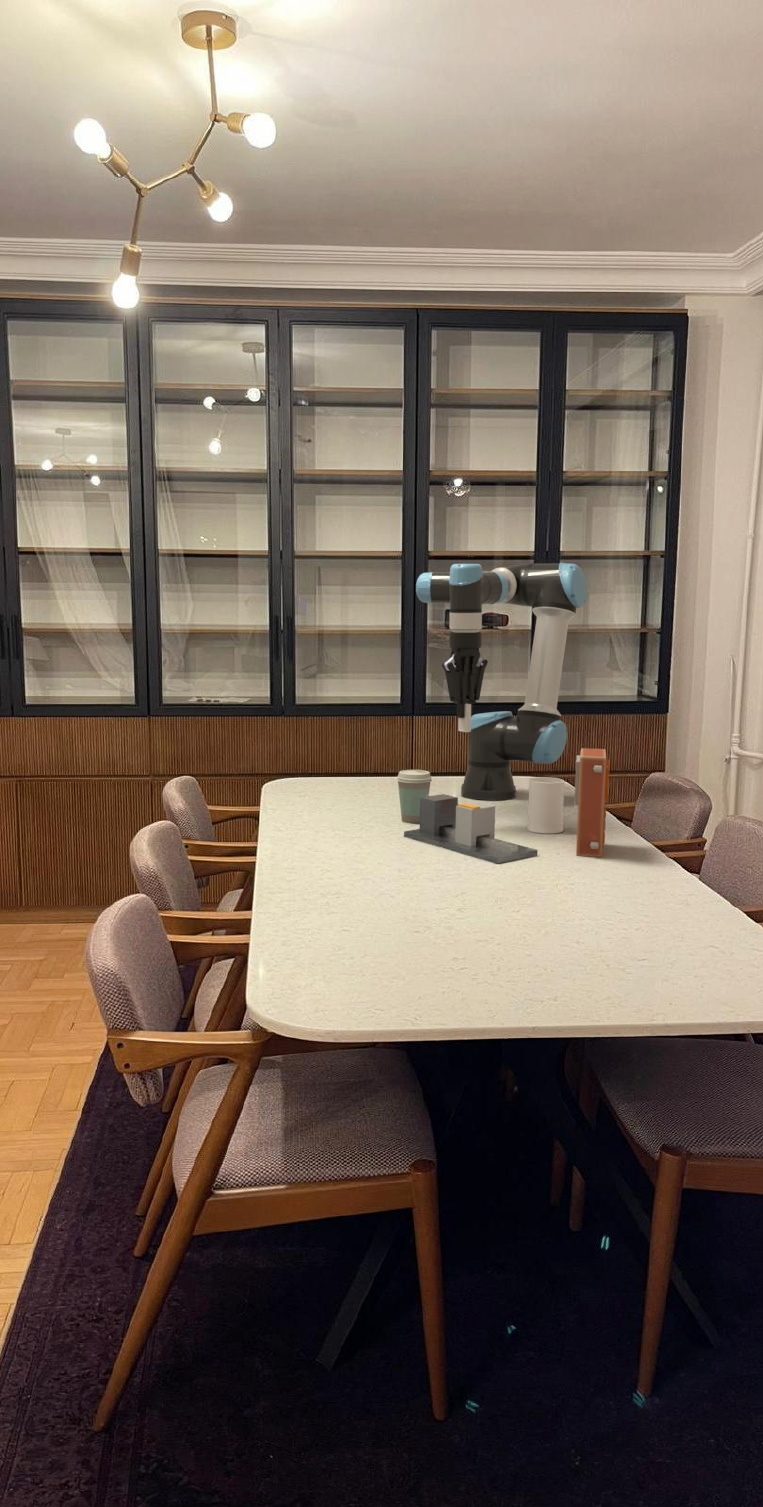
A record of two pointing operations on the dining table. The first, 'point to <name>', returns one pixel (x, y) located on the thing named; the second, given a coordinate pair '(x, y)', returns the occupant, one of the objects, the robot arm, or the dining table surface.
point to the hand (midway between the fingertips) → (464, 731)
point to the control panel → (591, 800)
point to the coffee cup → (412, 793)
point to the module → (474, 822)
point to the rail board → (471, 849)
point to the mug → (547, 805)
